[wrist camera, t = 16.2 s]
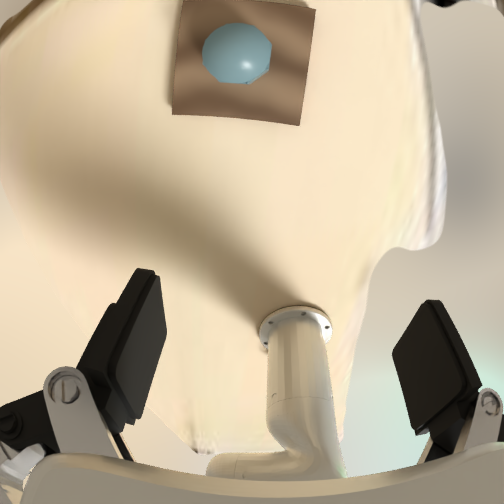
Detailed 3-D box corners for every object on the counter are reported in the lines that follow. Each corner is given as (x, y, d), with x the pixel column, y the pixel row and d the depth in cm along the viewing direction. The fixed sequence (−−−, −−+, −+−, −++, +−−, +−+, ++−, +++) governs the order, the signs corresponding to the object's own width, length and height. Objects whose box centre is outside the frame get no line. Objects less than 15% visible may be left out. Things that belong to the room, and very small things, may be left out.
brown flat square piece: (298, 124, 30) (299, 126, 28) (175, 113, 29) (172, 114, 28) (313, 12, 22) (315, 9, 21) (186, 3, 22) (183, 0, 20)
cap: (266, 86, 26) (266, 86, 22) (209, 81, 26) (199, 81, 22) (273, 35, 23) (274, 26, 19) (215, 31, 23) (205, 22, 19)
